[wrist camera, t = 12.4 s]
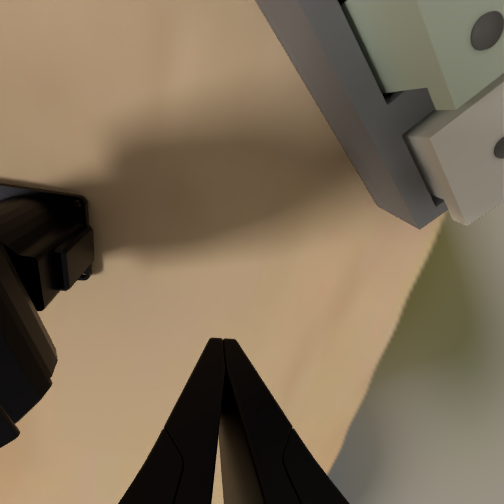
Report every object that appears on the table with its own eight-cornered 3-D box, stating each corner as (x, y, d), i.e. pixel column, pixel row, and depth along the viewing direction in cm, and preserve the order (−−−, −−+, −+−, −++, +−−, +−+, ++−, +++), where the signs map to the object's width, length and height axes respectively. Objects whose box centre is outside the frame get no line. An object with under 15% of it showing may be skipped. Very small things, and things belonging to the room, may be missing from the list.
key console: (377, 206, 22) (419, 229, 17) (190, -109, 13) (179, -223, 9) (471, 136, 20) (544, 142, 16) (328, -271, 12) (399, -507, 7)
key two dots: (362, 112, 16) (458, 109, 10) (311, 14, 14) (393, -71, 8) (449, 40, 15) (620, -15, 9) (410, -80, 13) (603, -271, 6)
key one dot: (391, 193, 21) (469, 226, 15) (357, 130, 19) (431, 138, 12) (459, 142, 20) (575, 155, 13) (432, 69, 18) (555, 43, 11)
